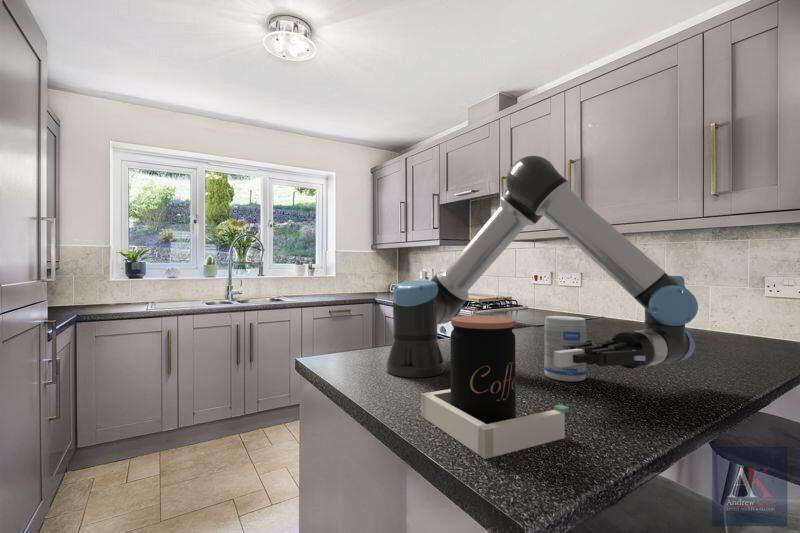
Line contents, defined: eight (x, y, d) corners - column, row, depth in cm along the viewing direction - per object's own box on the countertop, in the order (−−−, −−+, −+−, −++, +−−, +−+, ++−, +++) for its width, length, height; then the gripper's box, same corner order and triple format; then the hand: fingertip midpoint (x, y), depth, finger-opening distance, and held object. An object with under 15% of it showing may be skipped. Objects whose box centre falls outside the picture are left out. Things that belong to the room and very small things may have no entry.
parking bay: (421, 415, 70) (421, 390, 70) (493, 402, 77) (493, 379, 77) (485, 459, 54) (485, 425, 54) (569, 437, 61) (569, 407, 61)
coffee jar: (469, 444, 59) (468, 324, 59) (440, 418, 69) (440, 316, 69) (529, 435, 62) (528, 321, 62) (493, 412, 72) (493, 314, 72)
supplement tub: (569, 385, 89) (569, 320, 90) (536, 375, 98) (535, 316, 98) (595, 379, 94) (594, 318, 95) (560, 370, 103) (560, 314, 103)
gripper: (669, 373, 77) (587, 389, 67) (608, 360, 89) (531, 371, 78) (669, 335, 77) (587, 345, 67) (608, 327, 89) (531, 334, 79)
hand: (557, 359), depth 73 cm, fingers closed
